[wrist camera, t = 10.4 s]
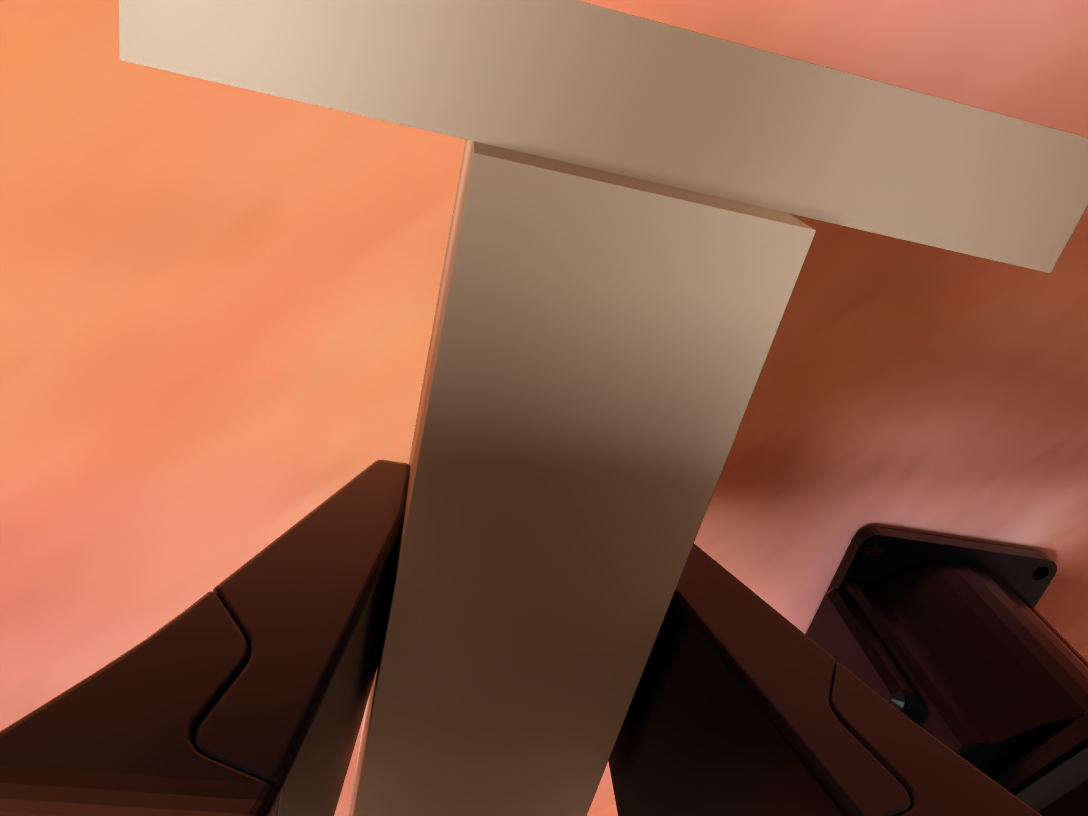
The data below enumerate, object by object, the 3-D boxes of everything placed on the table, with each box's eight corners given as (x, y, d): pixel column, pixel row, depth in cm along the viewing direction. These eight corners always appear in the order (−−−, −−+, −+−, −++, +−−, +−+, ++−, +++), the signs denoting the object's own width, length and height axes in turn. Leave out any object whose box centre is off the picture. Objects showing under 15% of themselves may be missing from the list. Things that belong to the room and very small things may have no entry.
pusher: (890, 99, 9) (1176, 158, 5) (629, 745, 13) (684, 1003, 10) (264, -67, 7) (75, -139, 4) (220, 707, 12) (117, 988, 9)
